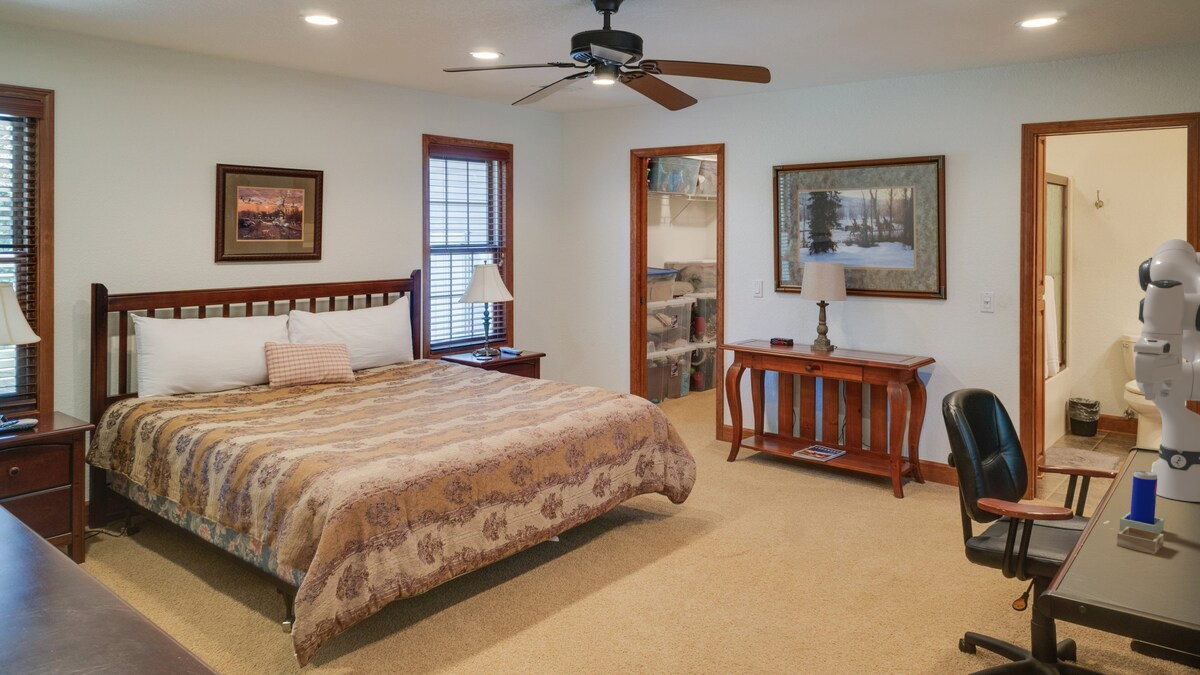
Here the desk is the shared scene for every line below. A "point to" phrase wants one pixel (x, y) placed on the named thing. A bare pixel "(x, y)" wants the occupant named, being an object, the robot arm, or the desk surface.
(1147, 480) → the beverage can
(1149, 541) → the bin oak
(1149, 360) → the robot arm
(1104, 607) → the desk surface
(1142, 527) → the bin sage
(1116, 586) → the desk surface
